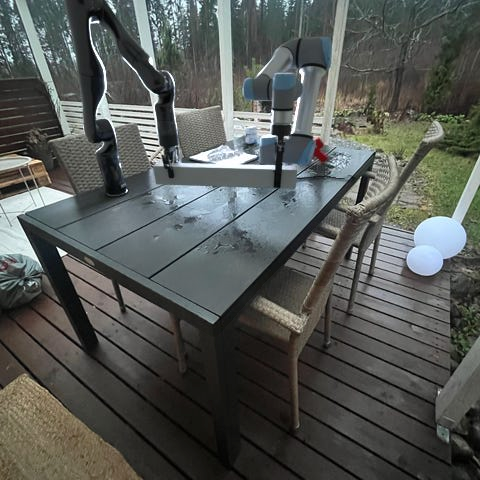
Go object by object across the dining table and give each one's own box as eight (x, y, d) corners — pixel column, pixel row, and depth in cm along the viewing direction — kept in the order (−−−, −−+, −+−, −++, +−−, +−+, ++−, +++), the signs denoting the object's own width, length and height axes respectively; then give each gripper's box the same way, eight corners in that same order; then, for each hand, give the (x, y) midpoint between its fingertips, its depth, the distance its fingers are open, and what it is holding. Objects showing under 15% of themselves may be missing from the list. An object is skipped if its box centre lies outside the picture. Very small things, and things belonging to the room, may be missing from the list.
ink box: (252, 141, 220) (252, 125, 213) (257, 142, 217) (257, 126, 210) (245, 142, 215) (245, 127, 208) (249, 144, 212) (249, 127, 205)
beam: (294, 184, 111) (296, 165, 107) (295, 189, 107) (297, 169, 103) (160, 180, 117) (157, 162, 113) (155, 184, 113) (152, 166, 108)
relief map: (231, 168, 161) (231, 160, 158) (189, 159, 179) (189, 151, 176) (257, 158, 179) (257, 150, 176) (217, 150, 197) (216, 142, 194)
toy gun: (331, 157, 168) (319, 136, 164) (331, 159, 164) (318, 137, 160) (306, 172, 178) (294, 153, 174) (305, 174, 174) (292, 154, 170)
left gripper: (164, 128, 109) (170, 169, 119) (150, 136, 97) (158, 181, 107) (182, 128, 109) (187, 170, 118) (171, 136, 97) (177, 182, 106)
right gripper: (271, 118, 105) (268, 176, 118) (270, 127, 90) (267, 193, 102) (290, 119, 104) (285, 177, 117) (293, 128, 89) (287, 194, 102)
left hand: (173, 175), depth 112 cm, fingers closed on beam, 5 cm apart
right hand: (276, 184), depth 110 cm, fingers closed on beam, 5 cm apart
